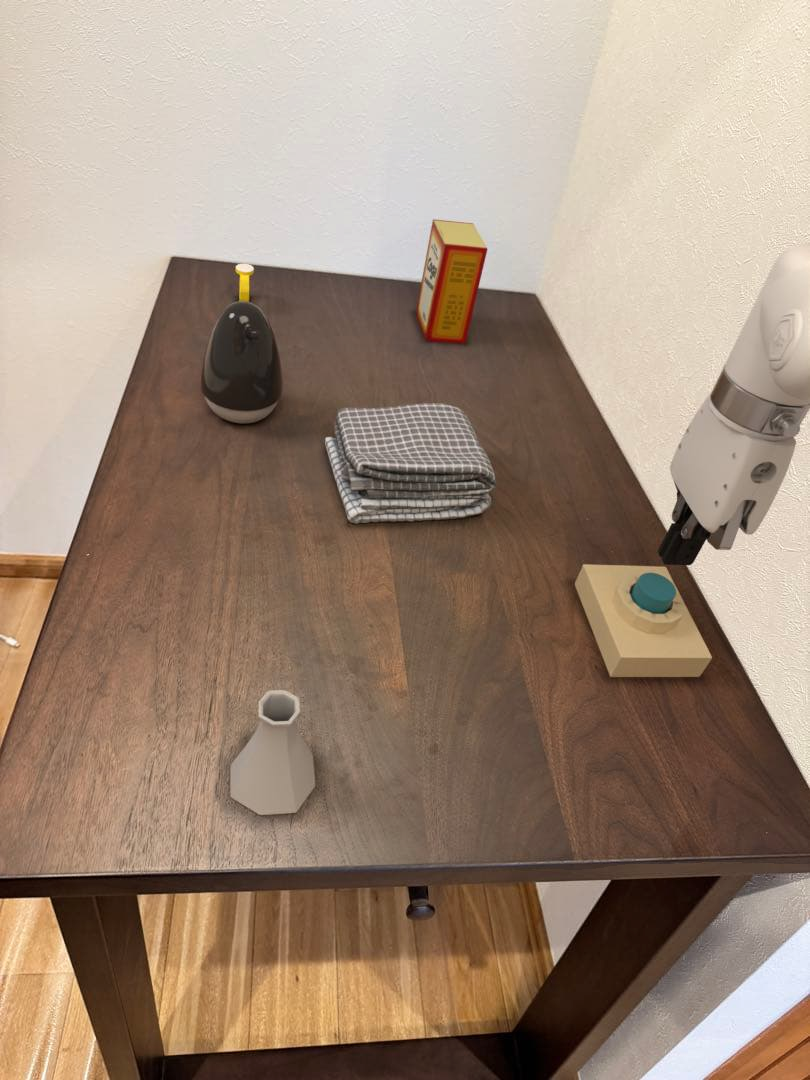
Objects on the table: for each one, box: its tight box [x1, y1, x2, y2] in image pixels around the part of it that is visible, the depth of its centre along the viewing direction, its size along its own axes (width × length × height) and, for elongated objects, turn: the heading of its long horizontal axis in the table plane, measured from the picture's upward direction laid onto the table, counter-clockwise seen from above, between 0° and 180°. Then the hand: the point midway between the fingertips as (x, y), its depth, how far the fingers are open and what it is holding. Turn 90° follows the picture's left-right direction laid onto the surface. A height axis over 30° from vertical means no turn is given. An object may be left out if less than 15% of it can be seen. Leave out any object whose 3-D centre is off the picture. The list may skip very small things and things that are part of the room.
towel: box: [324, 402, 498, 525], centre depth 94 cm, size 15×18×8 cm
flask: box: [229, 689, 316, 816], centre depth 62 cm, size 7×7×10 cm
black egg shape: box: [200, 300, 284, 424], centre depth 97 cm, size 10×10×15 cm
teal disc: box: [631, 573, 676, 614], centre depth 81 cm, size 4×4×2 cm
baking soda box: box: [415, 218, 488, 344], centre depth 124 cm, size 10×6×16 cm
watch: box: [235, 263, 255, 302], centre depth 122 cm, size 6×3×6 cm, turn 9°
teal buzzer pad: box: [574, 563, 713, 678], centre depth 83 cm, size 13×10×5 cm
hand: (674, 559), depth 77 cm, fingers closed
